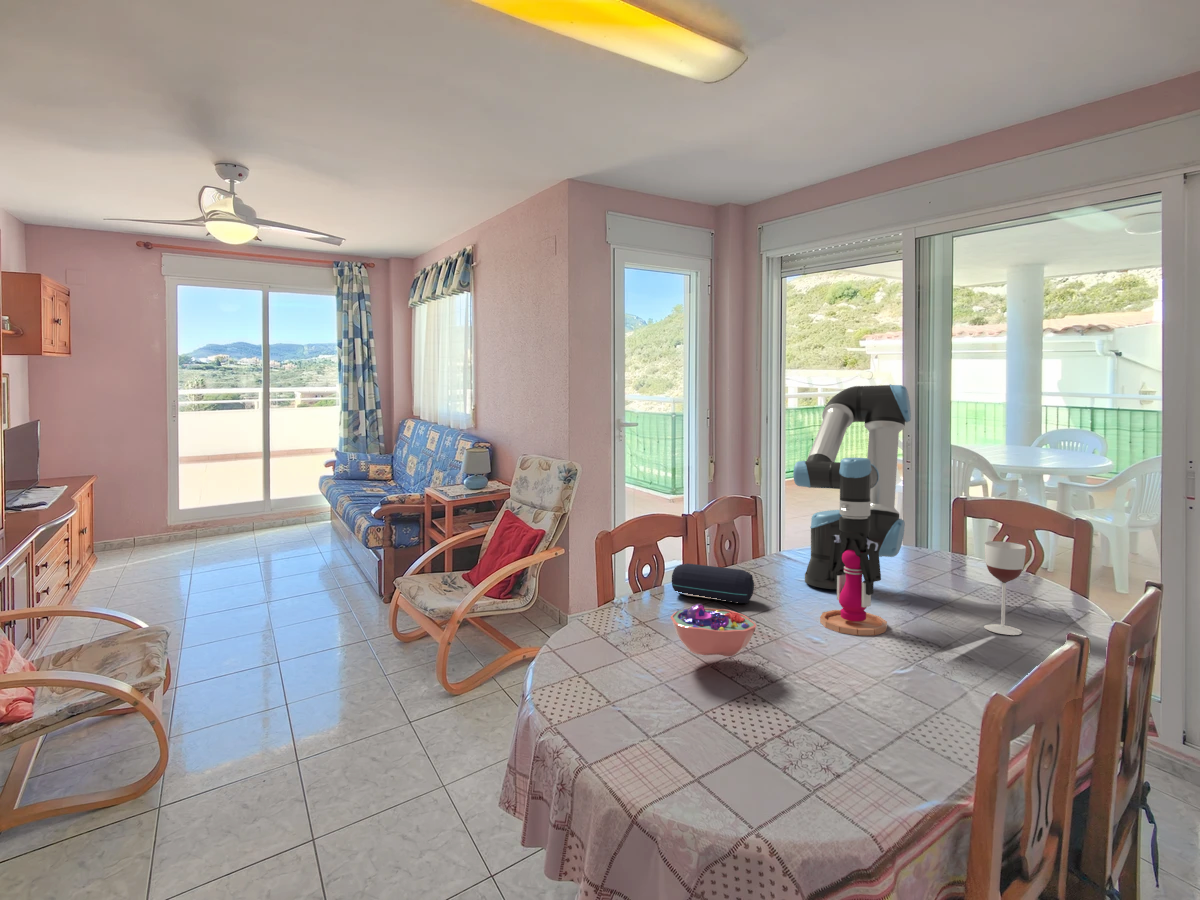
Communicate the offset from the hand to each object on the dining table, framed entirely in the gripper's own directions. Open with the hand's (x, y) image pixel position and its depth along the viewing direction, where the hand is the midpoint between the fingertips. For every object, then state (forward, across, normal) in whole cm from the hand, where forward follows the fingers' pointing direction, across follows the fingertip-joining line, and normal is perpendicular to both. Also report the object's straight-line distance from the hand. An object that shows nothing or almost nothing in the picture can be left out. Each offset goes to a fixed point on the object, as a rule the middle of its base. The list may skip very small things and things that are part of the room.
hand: (853, 602), depth 163 cm
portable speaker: (+6, -38, -16) cm, 41 cm away
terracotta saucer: (+6, 0, 0) cm, 6 cm away
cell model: (+6, -4, -45) cm, 46 cm away
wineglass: (+6, +22, +30) cm, 38 cm away
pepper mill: (+4, 0, 0) cm, 4 cm away
